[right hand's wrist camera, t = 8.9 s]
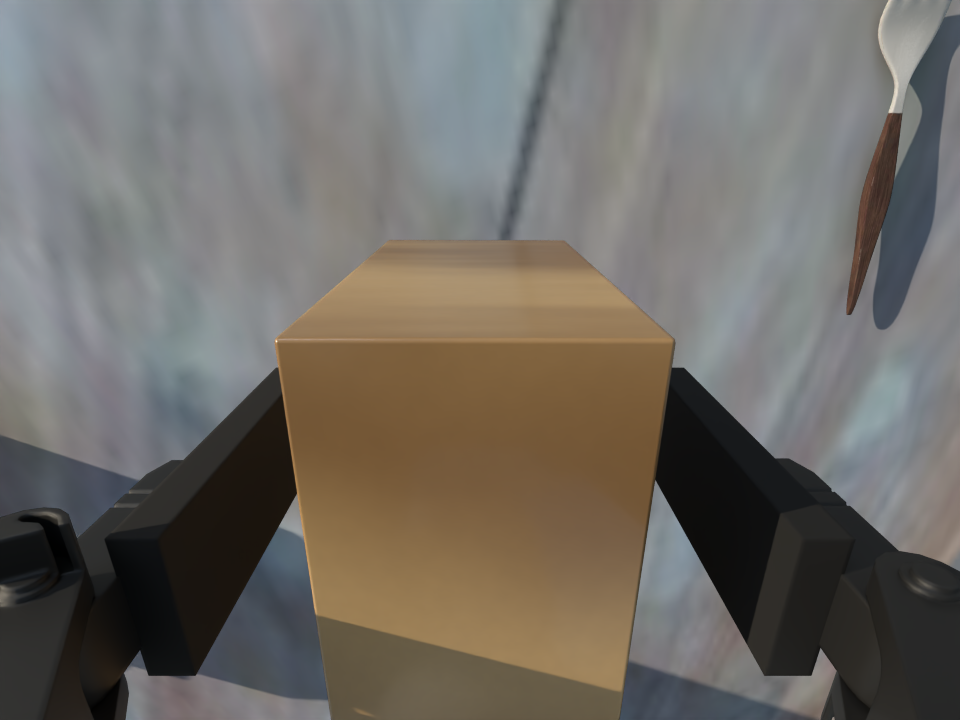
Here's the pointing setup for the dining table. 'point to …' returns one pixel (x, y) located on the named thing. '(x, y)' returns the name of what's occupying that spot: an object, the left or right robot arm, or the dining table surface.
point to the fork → (891, 120)
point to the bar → (475, 479)
